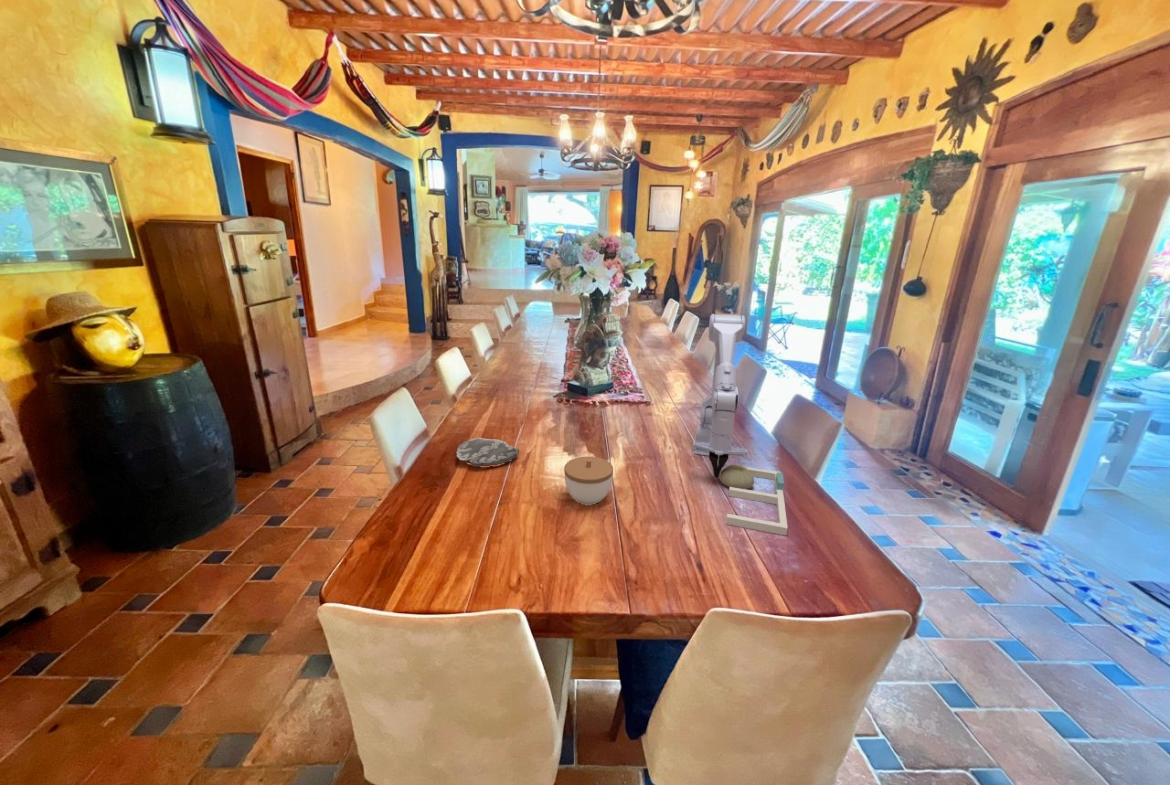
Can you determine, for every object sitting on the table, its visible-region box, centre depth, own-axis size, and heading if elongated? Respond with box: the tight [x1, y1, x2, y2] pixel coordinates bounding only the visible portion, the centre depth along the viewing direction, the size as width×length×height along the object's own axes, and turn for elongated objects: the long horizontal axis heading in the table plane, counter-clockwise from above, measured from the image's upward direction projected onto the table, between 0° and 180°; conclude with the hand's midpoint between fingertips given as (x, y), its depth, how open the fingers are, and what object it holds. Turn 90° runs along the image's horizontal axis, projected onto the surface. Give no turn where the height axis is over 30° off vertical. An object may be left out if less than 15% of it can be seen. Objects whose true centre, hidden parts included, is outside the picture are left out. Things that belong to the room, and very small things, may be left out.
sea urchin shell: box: [719, 464, 755, 490], centre depth 130 cm, size 9×8×8 cm
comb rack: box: [725, 466, 789, 536], centre depth 123 cm, size 14×28×4 cm, turn 161°
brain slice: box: [456, 437, 520, 468], centre depth 144 cm, size 20×17×3 cm
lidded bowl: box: [563, 456, 614, 506], centre depth 121 cm, size 13×13×11 cm
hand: (716, 476), depth 132 cm, fingers closed
